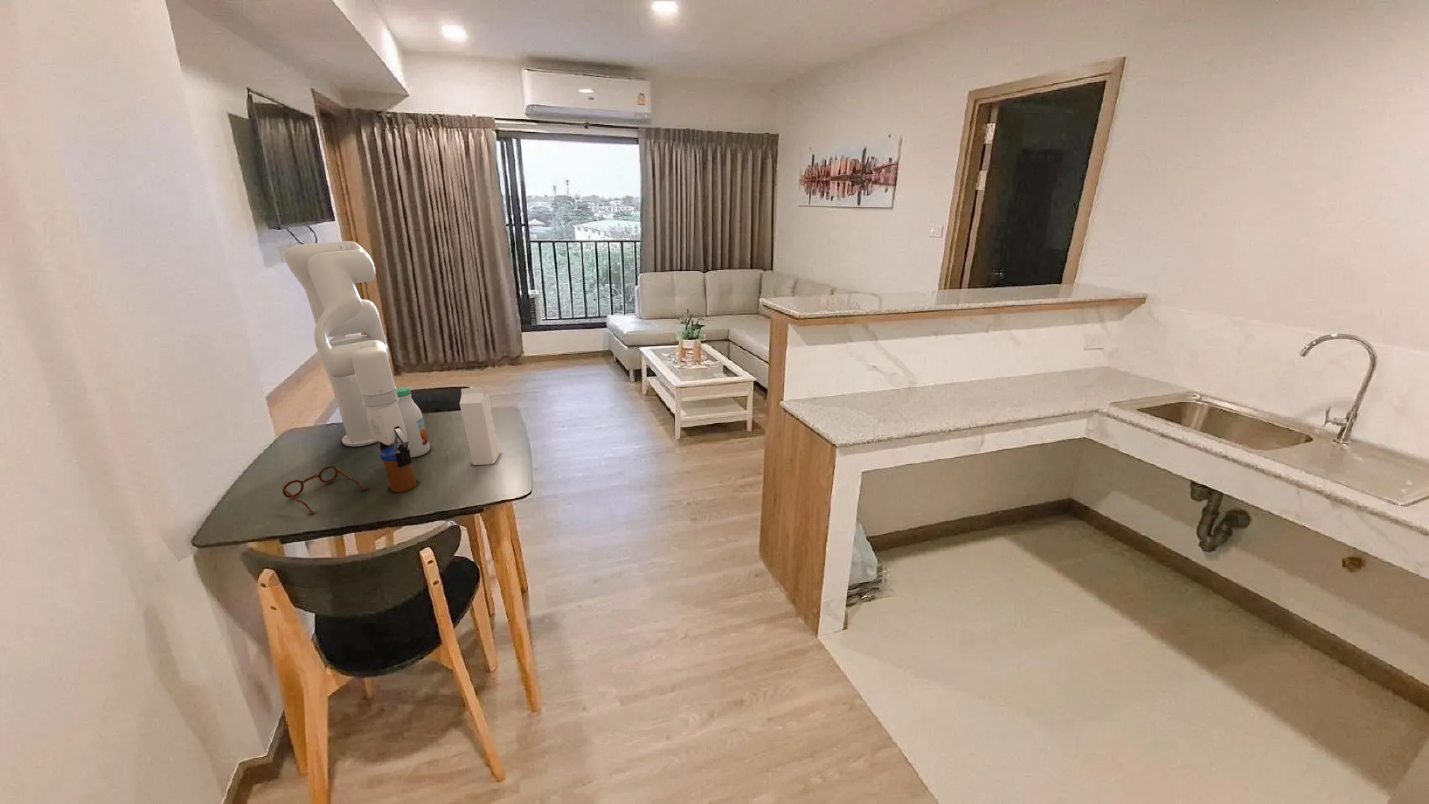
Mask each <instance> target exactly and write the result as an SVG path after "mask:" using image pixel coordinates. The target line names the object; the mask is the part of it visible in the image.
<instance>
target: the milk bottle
mask: <svg viewBox="0 0 1429 804" xmlns="http://www.w3.org/2000/svg"><path fill="white" fill-rule="evenodd" d="M396 390H397V394H398V398H399V401H398V402H397V404H398V407H399V409H400V412H401V415H402V418H403V421H404V425H405V428H406V433H407V439H408V441H409V443H408V445H409V448H410V457H411V458H416V457H417V458H418V457H420V456H424V455H425V454H428V452H429V451H430V450H431V445H430V441H429V437H428V432H427V428H426V424H425V420H424V417H423V413H422V411H421V409H420V408H419V406H418V405H417V404H416V402H414V400H413V399H412V392H411V388H410V387H408V386H401V387H396ZM396 440H399V438H397V439H396ZM398 444H401V442H400V443H398Z"/></svg>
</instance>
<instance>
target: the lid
mask: <svg viewBox="0 0 1429 804" xmlns="http://www.w3.org/2000/svg"><path fill="white" fill-rule="evenodd" d="M399 445H401V444H399V443H397V446H398V448H399ZM408 447H409V446H408ZM395 453H396V451H395V449H394V447H393V446H389V447H387V448H385V449H383V450H382V451H381V450H380V452H379V457H380V459H381V460H382V461H383V460H384V461H395V460H396V457H395ZM409 453H410V448H409ZM384 461H383V462H384Z"/></svg>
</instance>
